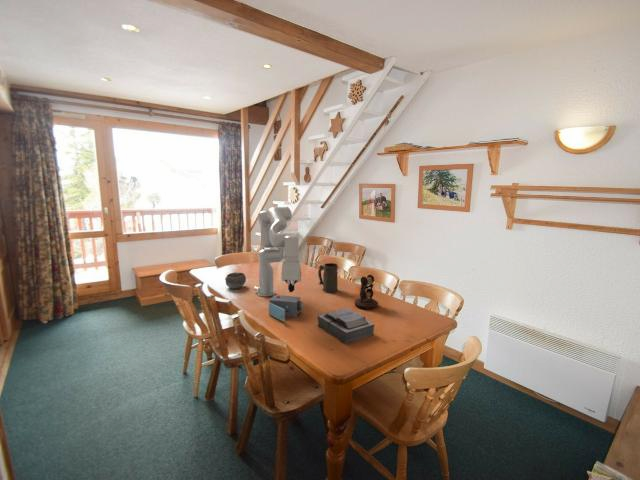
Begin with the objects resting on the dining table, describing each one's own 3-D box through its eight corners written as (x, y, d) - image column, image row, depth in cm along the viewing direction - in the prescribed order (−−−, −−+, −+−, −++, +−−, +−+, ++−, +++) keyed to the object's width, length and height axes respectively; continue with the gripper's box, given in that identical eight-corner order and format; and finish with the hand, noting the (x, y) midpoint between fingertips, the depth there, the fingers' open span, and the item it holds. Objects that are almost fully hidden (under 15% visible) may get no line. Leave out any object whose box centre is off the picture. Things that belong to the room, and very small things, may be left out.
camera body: (269, 314, 184) (269, 299, 182) (274, 308, 193) (274, 293, 191) (299, 317, 181) (299, 301, 179) (303, 311, 190) (303, 296, 188)
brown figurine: (363, 300, 212) (365, 271, 208) (382, 306, 202) (384, 276, 198) (349, 305, 202) (351, 275, 198) (368, 312, 191) (370, 280, 188)
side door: (267, 315, 182) (266, 303, 181) (270, 314, 184) (270, 302, 183) (281, 322, 173) (281, 310, 172) (285, 321, 174) (285, 309, 173)
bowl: (248, 285, 237) (248, 272, 236) (241, 291, 222) (241, 278, 220) (230, 284, 239) (230, 271, 237) (222, 290, 224) (222, 277, 222)
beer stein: (340, 289, 232) (339, 262, 229) (336, 293, 222) (335, 266, 219) (320, 288, 237) (319, 262, 234) (315, 292, 227) (314, 265, 224)
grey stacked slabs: (336, 347, 150) (337, 327, 148) (314, 324, 174) (314, 307, 172) (377, 338, 159) (378, 320, 157) (351, 318, 183) (351, 301, 182)
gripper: (275, 259, 165) (276, 292, 168) (303, 261, 163) (303, 294, 166) (280, 256, 173) (280, 288, 176) (306, 257, 170) (306, 290, 173)
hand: (291, 291), depth 171 cm, fingers closed
